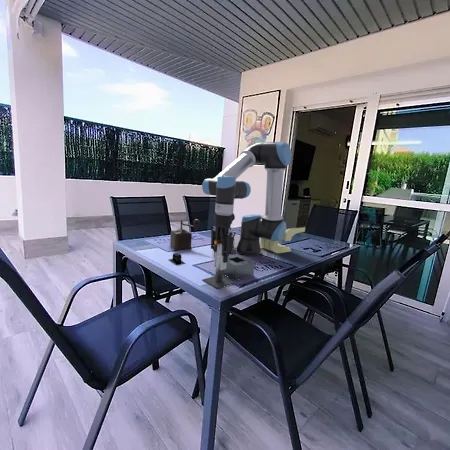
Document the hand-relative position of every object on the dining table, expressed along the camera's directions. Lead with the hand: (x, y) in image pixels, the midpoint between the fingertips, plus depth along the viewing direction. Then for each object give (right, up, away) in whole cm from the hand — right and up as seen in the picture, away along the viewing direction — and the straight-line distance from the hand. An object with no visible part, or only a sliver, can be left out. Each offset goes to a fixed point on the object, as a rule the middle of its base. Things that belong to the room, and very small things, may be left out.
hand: (219, 267), depth 112 cm
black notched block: (-23, -1, +23) cm, 32 cm away
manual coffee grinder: (-23, +4, +50) cm, 55 cm away
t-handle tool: (0, -5, +1) cm, 5 cm away
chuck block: (+7, -5, +12) cm, 15 cm away
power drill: (+3, +2, +49) cm, 49 cm away
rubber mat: (0, -6, +1) cm, 7 cm away
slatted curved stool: (+35, +2, +59) cm, 68 cm away
